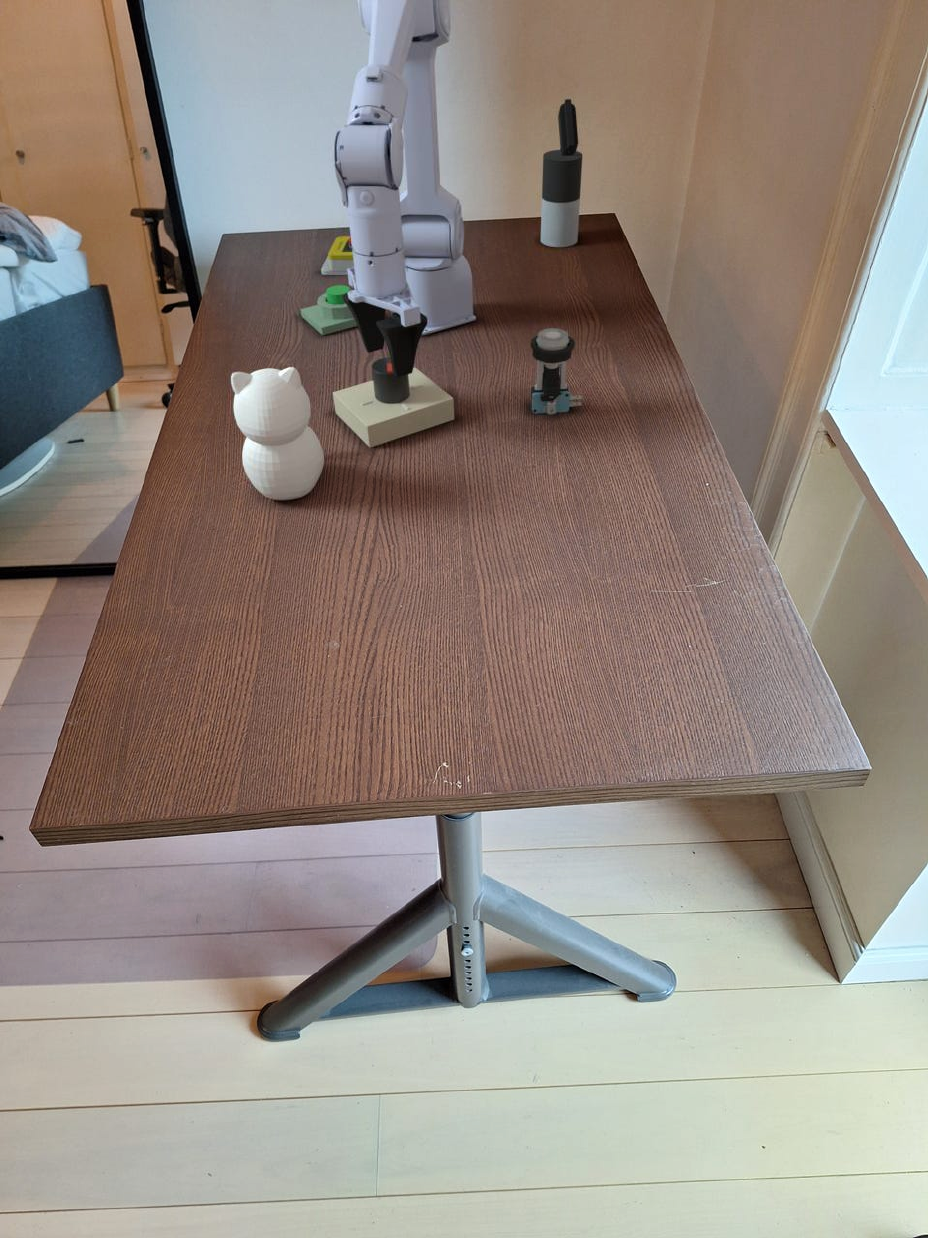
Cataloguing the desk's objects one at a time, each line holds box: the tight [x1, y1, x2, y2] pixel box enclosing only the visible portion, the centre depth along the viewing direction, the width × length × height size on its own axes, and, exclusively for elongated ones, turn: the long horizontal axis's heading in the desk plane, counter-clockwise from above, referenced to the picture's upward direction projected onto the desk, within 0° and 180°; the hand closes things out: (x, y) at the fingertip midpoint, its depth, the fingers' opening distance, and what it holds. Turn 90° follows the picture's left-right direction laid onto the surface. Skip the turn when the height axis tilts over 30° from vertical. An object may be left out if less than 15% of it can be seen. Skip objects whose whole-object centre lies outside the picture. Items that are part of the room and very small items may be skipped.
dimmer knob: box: [371, 356, 410, 403], centre depth 105 cm, size 4×4×4 cm
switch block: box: [300, 292, 358, 336], centre depth 130 cm, size 10×8×3 cm
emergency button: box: [320, 235, 354, 276], centre depth 145 cm, size 9×4×15 cm
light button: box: [325, 284, 351, 305], centre depth 129 cm, size 4×4×2 cm
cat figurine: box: [230, 366, 325, 501], centre depth 94 cm, size 9×12×15 cm
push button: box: [530, 327, 583, 415], centre depth 105 cm, size 7×5×10 cm
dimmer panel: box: [332, 367, 455, 449], centre depth 108 cm, size 12×10×3 cm
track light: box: [540, 98, 583, 248], centre depth 144 cm, size 6×17×20 cm
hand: (389, 361), depth 104 cm, fingers open, 7 cm apart
